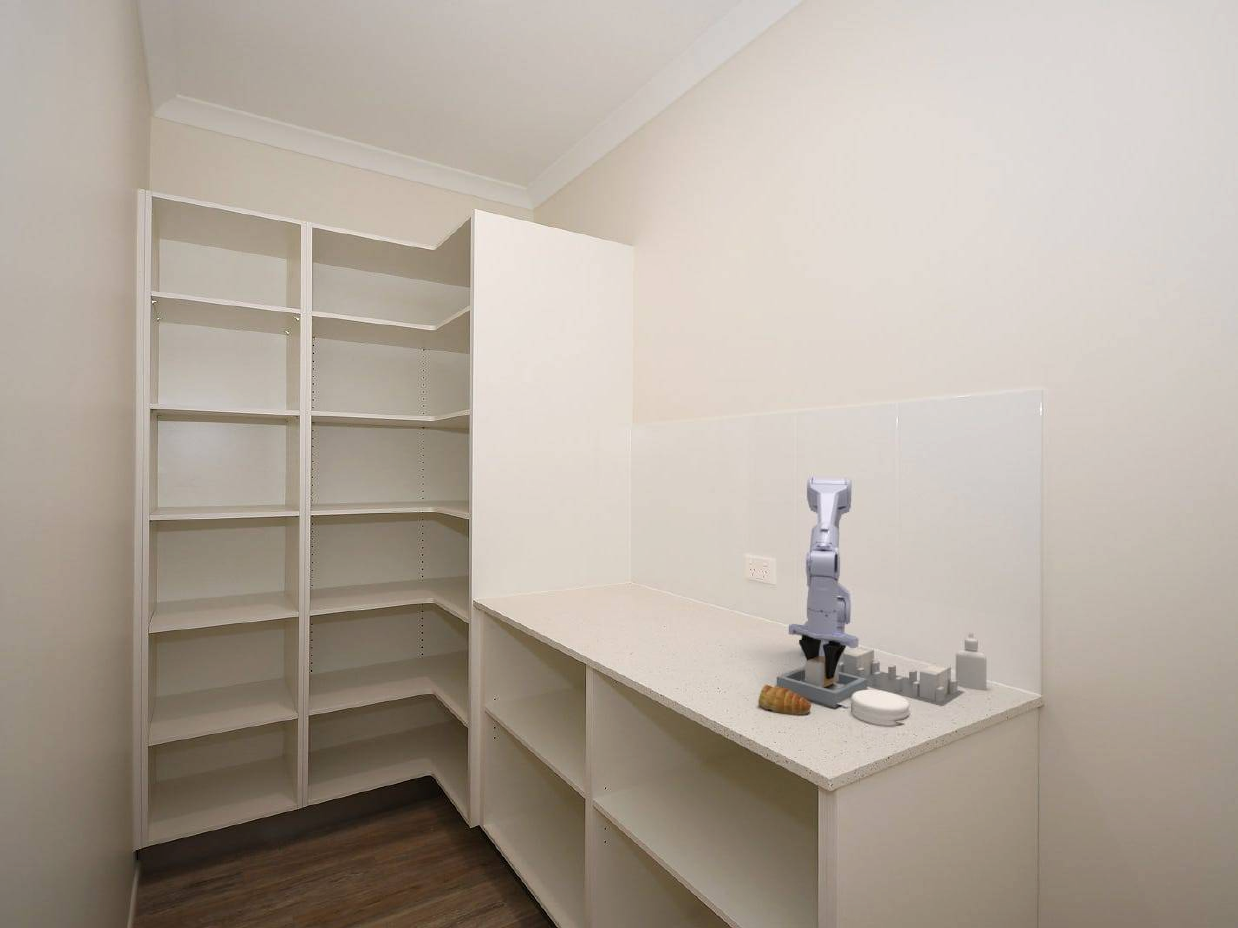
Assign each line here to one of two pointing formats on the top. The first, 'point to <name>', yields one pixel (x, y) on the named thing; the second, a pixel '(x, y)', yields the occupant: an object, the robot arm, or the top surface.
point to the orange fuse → (819, 672)
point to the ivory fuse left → (858, 661)
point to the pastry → (783, 701)
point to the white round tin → (879, 707)
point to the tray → (822, 694)
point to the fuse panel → (904, 684)
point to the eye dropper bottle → (971, 665)
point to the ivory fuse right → (934, 680)
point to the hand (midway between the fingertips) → (821, 675)
